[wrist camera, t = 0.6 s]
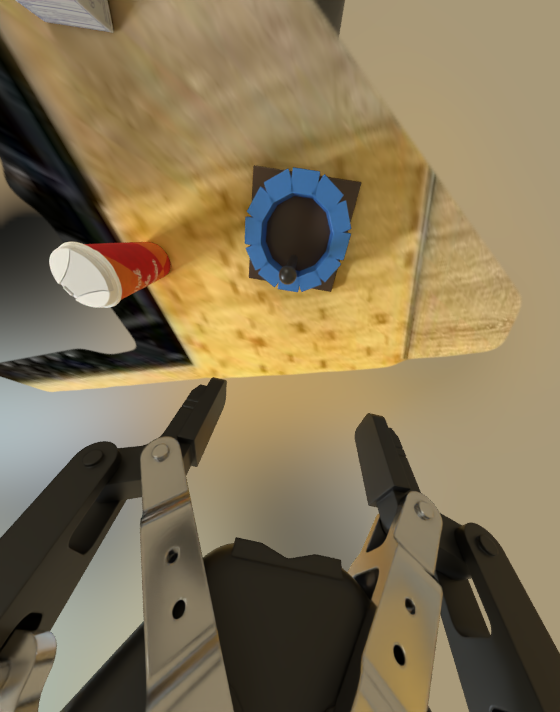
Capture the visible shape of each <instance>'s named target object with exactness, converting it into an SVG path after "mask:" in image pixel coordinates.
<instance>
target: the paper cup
mask: <svg viewBox="0 0 560 712" xmlns="http://www.w3.org/2000/svg"><path fill="white" fill-rule="evenodd" d="M49 263H50V268H51V272H52V274H53V276H54V278H55V279H56V281H57V282H58V284H61V285H62V286H63V288H64V289H65V290H66V291H67V292H68V293H69V294H70V295H71V296H74V297H75V298H77V299H76V301H78V302H80V303H82V304H84V305H87V306H90V307H104V308H107V307H113V306H115V305H117V304H118V303H119V301H120V300H121V299H123V298H125V297H127V296H128V295H130V294H132V293H134V292H136V291H138V290H140V289H142V288H144V287H146V286H148V285H150V284H151V283H153V282H155V281H157V280H159V279H161V278H162V277H164V276H166V275H167V274H168V273H169V271H170V260H169V258H168V256H167V254H166V252H165V251H164V250H163V249H162V248H161V247H160V246H158V245H157V244H154V243H151V242H130V243H105V244H82V243H78V242H66V243H63V244H62V245H61V246H59V247H58V248H57V249H55V250H54V251H53V252H52V254H51V255H50V260H49Z"/></svg>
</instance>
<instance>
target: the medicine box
mask: <svg viewBox="0 0 560 712" xmlns="http://www.w3.org/2000/svg"><path fill="white" fill-rule="evenodd" d="M16 1H17V2H19V3H20V4H21V5H23V6H24V7H25V8H27V9H28V10H30V11H31V12H32V13H34V14H35V15H36V16H38V17H39V18H41V19H42V20H44V21H45V22H50V23H56V24H62V25H69V26H75V27H81V28H88V29H94V30H100V31H107V32H111V33H114V31H113V25H112V20H111V15H110V10H109V6H108V0H16Z"/></svg>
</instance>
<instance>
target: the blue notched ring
mask: <svg viewBox="0 0 560 712" xmlns="http://www.w3.org/2000/svg"><path fill="white" fill-rule="evenodd" d="M319 176H320V171H313V170H307V169H301V168H294V167H293V171H292V177H291V174H290V171H289V169H286V170H284V171H283V172H281V173H279V174H278V175H276V176H274V177H272V178H271V179H269V180H267V181H265V182H264V185H265V188H266V190H265V189H264V188H262V187H261V186H260V188H259V190H258V192H257V193H256V195H255V197H254V199H253V201H252V203H251V205H250V207H249V208H248V210H247V212H248V213H249V214H250V215H251V216H252V217H246V218H245V244H249V245H251V246H249V247H247V248H246V250H247V252H248V255H249V257H250V259H251V261H252V264H253V266H254V268H255V270H258V269H260V268H261V270H260V271H259V273H258V274H259V275H260V276H261V277H263V278H264V279H265V280H266V281H267V282H269V283H270V284H271V285H272V286H274V287H275V286H276V285H277V283H278V282H279V283H278V289H282V290H288V291H294V292H298V290H299V286H300V289H301V292H303V291H305V290H308V289H311V288H313V287H316V286H319V285H321V284H322V283H321V279H322V280H323V281H324V282H326V281H327V280H328V278H329V277H330V276H331V275H332V274H333V273H334V272H335V271H336V270H337V268H338V267H339V266H340V265H341V263H340V262H339V260H344V257H345V253H346V250H347V246H348V243H349V239H350V236H351V234H350V233H347V232H345V231H347V230H350V229H351V224H350V219H349V213H348V208H347V203H346V200H345V201H342V202H340V203H338V202H339V201H340V200H341V198H342V197H343V196H344V195H343V194H342V193H341V192H340V190H339V189H338V188H337V187H336V186H335V185H334V184H333V183H332V182H331V181H330V179H329V178H328V177H327V176H326V175H325V174H324V175H323V177H322V178H321V180H320V181H319ZM318 181H319V183H318ZM293 196H298V197H304V198H310V199H313V200H314V201H315V202H316V203H317V204H318V205H319V206H320V207H321V208H322V209H323V210H324V211H325V212H326V215H327V219H328V224H329V228H330V236H329V241H328V245H327V249H326V252H325V253H324V254H323V255H322V257H321V258H320V259H319V260H318V262H317V263H316V264H315V265H314V266H311V267H309V268H306V269H304V270H301V271H296V272H297V277H296V280H295V281H294V282H293V283H292V284H289V285H286V284H284V283H282V282H281V281H280V279H279V271H280V269H281V268H282V266H281V265H280V264H279V263H277V262H276V261H275V260H274V259H273V258H272V256H271V253H270V251H269V248H268V246H267V243H266V232H267V222H268V220H269V218H270V217H271V215H272V213H273V212H274V210H275V208H276V207H277V205H278V204H280V203H282V202H284V201H286V200H288V199H290V198H291V197H293ZM338 259H339V260H338Z"/></svg>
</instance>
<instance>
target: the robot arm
mask: <svg viewBox="0 0 560 712" xmlns="http://www.w3.org/2000/svg"><path fill="white" fill-rule="evenodd" d="M226 384H227V381H226V380H223V379H218V378H214V377H212V378H211V380H210V382H209V383H208V385H207V386H205V385H199V386H198V387H196V388H195V389H193V390H192V391H191V393H190V395H189V396H188V397H187V399H186V400H185V402H184V403H183V405H182V407H181V408H180V409H179V411H178V412H177V414H176V415H175V417H174V418H173V420H172V421H171V423H170V424H169V426H168V427H167V429H166V430H165V432H164V433H163V434H162V435H161V436H160V437H159V438H157V439H155V440H153V441H152V442H150V443H149V444H147V445H143V446H137V447H127V448H117V447H116V445H115V444H113V443H111V442H106V441H103V442H97V443H94V444H91V445H89V446H87V447H85V448H84V449H82V450H81V451H79V452H78V453H77V454H76V455H75V456H74V457H73V458H72V459H71V460H70V462H69V463H68V464H67V465H66V466H65V467H64V468H63V469H62V470H61V472H60V473H59V474H58V475H57V476H56V477H55V478H54V479H53V480H52V481H51V483H50V484H49V485H48V486H47V487H46V488H45V489H44V490H43V491H42V493H41V494H40V495H39V496H38V497H37V498H36V499H35V500H34V501H33V503H32V504H31V505H30V506H29V507H28V508H27V509H26V510H25V511H24V513H23V514H22V515H21V516H20V517H19V518H18V519H17V521H15V522H14V524H13V525H12V526H11V527H10V528H9V529H8V530H7V531H6V533H5V534H4V535H3V536H2V537H1V538H0V712H38V707H39V701H40V696H41V692H42V690H43V687H44V684H45V682H46V679H47V677H48V675H49V673H50V670H51V668H52V666H53V663H54V659H55V655H56V649H57V648H56V647H57V644H56V639H55V636H54V635H53V633H51V632H50V630H51V628H52V627H53V625H54V623H55V622H56V620H57V618H58V616H59V615H60V613H61V611H62V609H63V608H64V606H65V604H66V603H67V601H68V599H69V598H70V596H71V594H72V592H73V591H74V589H75V587H76V586H77V584H78V582H79V581H80V579H81V577H82V575H83V574H84V572H85V570H86V569H87V567H88V565H89V563H90V562H91V560H92V558H93V556H94V555H95V553H96V551H97V549H98V548H99V546H100V544H101V543H102V541H103V539H104V538H105V536H106V534H107V533H108V531H109V529H110V527H111V526H112V524H113V522H114V521H115V519H116V517H117V515H118V513H119V512H120V510H121V508H122V507H123V505H124V503H125V502H126V500H127V499H132V498H138V497H142V505H143V515H142V518H141V521H140V541H141V542H140V543H141V566H142V590H143V613H144V621H143V622H142V624H141V625H140V626H139V627H138V628H137V629H136V630H135V631H134V632H133V633H132V635H130V637H129V638H128V639H127V640H126V641H125V642H124V643H123V644H122V645H121V646H120V647H119V648H118V650H117V651H116V652H115V653H114V654H113V655H112V656H111V657H110V658H109V660H107V661H106V663H105V664H104V665H103V666H102V667H101V668H100V669H99V670H98V671H97V672H96V673H95V674H94V675H93V677H92V678H91V679H90V680H89V681H88V682H87V683H86V684H85V685H84V687H82V689H81V690H80V691H79V692H78V693H77V694H76V695H75V696H74V697H73V698H72V699H71V701H70V702H69V703H68V704H67V705H66V706H65V707H64V708H63V709H62V710H61V711H60V712H431V710H430V708H429V706H428V701H429V694H430V685H431V679H432V671H433V663H434V657H435V649H436V642H437V634H438V627H439V619H440V614H441V618H442V621H443V625H444V628H445V631H446V635H447V638H448V641H449V645H450V648H451V652H452V655H453V658H454V662H455V665H456V669H457V672H458V675H459V679H460V682H461V685H462V689H463V691H464V695H465V699H466V702H467V706H468V709H469V712H560V653H559V652H558V650H557V648H556V646H555V644H554V642H553V641H552V639H551V637H550V635H549V633H548V631H547V630H546V628H545V626H544V624H543V622H542V620H541V619H540V617H539V615H538V613H537V611H536V609H535V607H534V606H533V604H532V602H531V600H530V598H529V596H528V595H527V593H526V591H525V589H524V587H523V585H522V584H521V582H520V580H519V578H518V576H517V574H516V573H515V571H514V569H513V567H512V565H511V564H510V562H509V560H508V558H507V556H506V554H505V552H504V551H503V549H502V547H501V546H500V544H499V543H498V542H497V540H496V539H495V538H494V537H493V536H492V535H491V534H490V533H489V532H488V531H487V530H486V529H484V528H483V527H481V526H480V525H478V524H475V523H467V524H465V525H460V524H458V523H456V522H455V521H453V520H451V519H450V518H448V517H446V516H444V515H442V514H441V513H439V511H438V509H437V507H436V506H435V505H434V503H433V502H432V501H431V500H430V499H429V498H428V497H426V496H425V495H423V494H422V493H421V492H420V490H419V487H418V484H417V482H416V480H415V477H414V475H413V472H412V470H411V467H410V465H409V462H408V460H407V458H406V455H405V453H404V450H403V449H402V445H401V442H400V440H399V438H398V436H397V435H396V434H395V432H394V431H393V430H392V428H388V426H387V423H386V420H385V418H384V417H383V416H379V415H375V414H370V413H368V414H367V415H366V416H365V417H364V419H363V420H362V422H361V423H360V424H359V426H358V427H357V429H356V431H355V442H356V447H357V452H358V457H359V462H360V466H361V471H362V476H363V481H364V486H365V491H366V496H367V501H368V505H369V506H373V507H378V510H379V514H378V515H377V516H376V518H375V521H374V523H373V525H372V527H371V530H370V532H369V534H368V537H367V539H366V541H365V544H364V546H363V548H362V550H361V552H360V554H359V555H358V557H357V558H356V559H355V560H354V562H353V563H352V565H351V566H350V568H349V570H348V572H346V571H345V570H344V569H342V566H341V560H339V559H335V558H330V557H325V556H321V555H315V554H314V555H308V556H302V557H296V558H286V557H284V556H282V555H281V554H279V553H277V552H276V551H274V550H273V549H271V548H269V547H268V546H266V545H264V544H263V543H260V542H255V541H251V540H246V539H241V538H237V537H236V538H235V542H234V543H231V544H226V545H224V546H220V547H219V548H216V549H215V550H213V551H211V552H210V553H208V554H207V555H206V556H205V557H202V552H201V547H200V542H199V538H198V533H197V528H196V523H195V518H194V513H193V508H192V503H191V498H190V494H189V488H188V484H187V479H186V475H187V473H188V471H189V469H190V466H195V467H197V466H198V464H199V462H200V460H201V457H202V455H203V453H204V451H205V448H206V446H207V444H208V442H209V439H210V437H211V435H212V433H213V430H214V428H215V426H216V424H217V421H218V419H219V417H220V415H221V412H222V410H223V408H224V405H225V400H226ZM471 578H472V580H473V582H474V584H475V587H476V589H477V592H478V594H479V597H480V599H481V601H482V604H483V606H484V608H485V611H486V613H487V616H488V618H489V621H490V624H491V635H490V633H489V631H488V628H487V626H486V623H485V621H484V618H483V616H482V613H481V611H480V609H479V606H478V603H477V601H476V598H475V596H474V593H473V591H472V588H471V586H470V583H469V581H468V579H471Z"/></svg>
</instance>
